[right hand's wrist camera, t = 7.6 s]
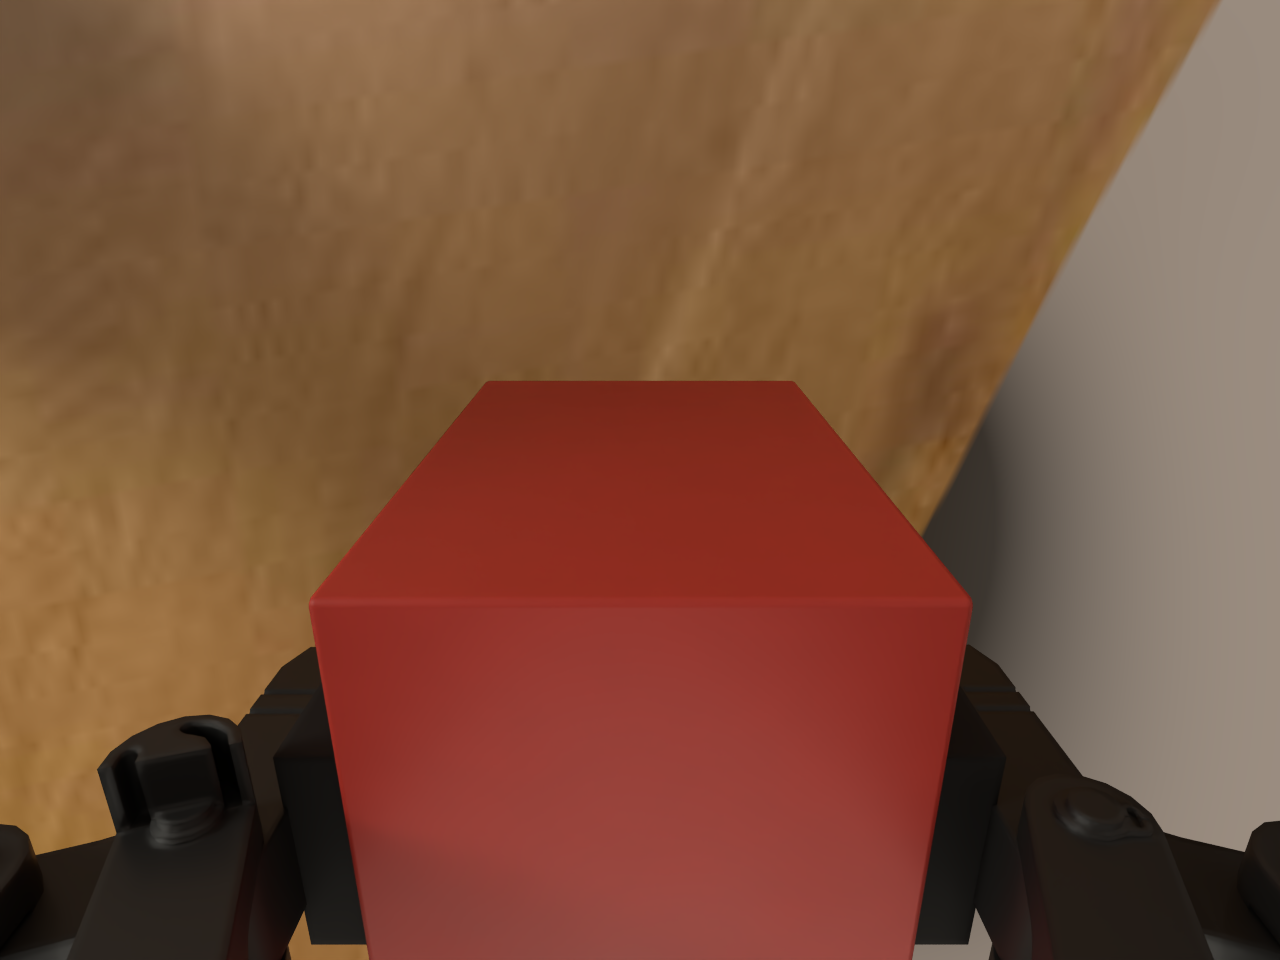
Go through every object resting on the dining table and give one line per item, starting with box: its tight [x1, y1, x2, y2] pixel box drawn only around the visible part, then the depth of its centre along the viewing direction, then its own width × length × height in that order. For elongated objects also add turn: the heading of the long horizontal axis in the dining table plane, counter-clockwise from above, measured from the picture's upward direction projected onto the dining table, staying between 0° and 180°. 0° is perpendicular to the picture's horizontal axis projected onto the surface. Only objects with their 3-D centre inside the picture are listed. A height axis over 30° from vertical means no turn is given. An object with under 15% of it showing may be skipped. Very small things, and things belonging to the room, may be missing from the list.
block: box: [309, 381, 973, 960], centre depth 12 cm, size 6×7×9 cm
